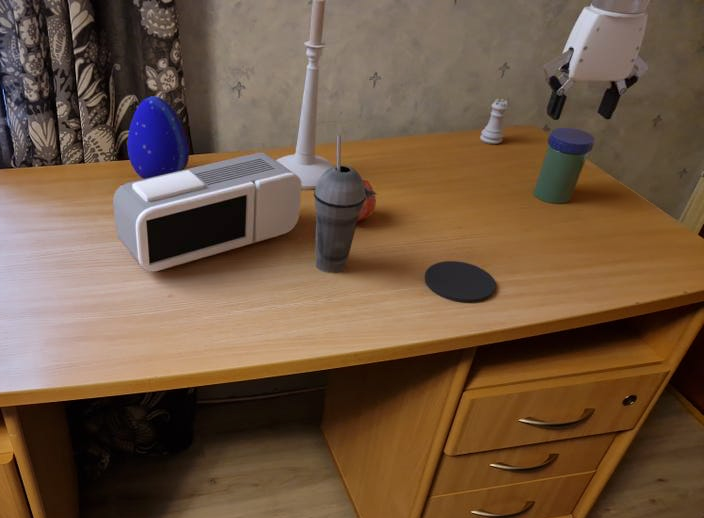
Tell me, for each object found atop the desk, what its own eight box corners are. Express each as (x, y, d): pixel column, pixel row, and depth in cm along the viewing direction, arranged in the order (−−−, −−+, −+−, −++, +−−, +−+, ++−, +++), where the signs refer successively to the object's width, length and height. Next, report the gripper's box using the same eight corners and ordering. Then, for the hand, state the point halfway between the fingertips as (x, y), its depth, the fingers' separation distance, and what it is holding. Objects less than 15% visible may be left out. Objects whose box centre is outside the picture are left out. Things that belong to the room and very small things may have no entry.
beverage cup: (342, 283, 99) (361, 152, 86) (298, 268, 102) (310, 140, 89) (362, 260, 104) (383, 133, 91) (319, 247, 107) (334, 122, 94)
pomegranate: (320, 230, 115) (355, 218, 106) (312, 187, 114) (347, 172, 105) (355, 225, 118) (392, 213, 109) (348, 183, 118) (384, 167, 109)
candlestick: (316, 154, 133) (333, -17, 113) (351, 182, 124) (376, 1, 104) (257, 165, 129) (265, -10, 109) (289, 194, 120) (303, 9, 100)
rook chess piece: (505, 140, 139) (516, 101, 134) (496, 146, 136) (507, 107, 131) (485, 134, 141) (495, 95, 136) (475, 140, 139) (485, 101, 133)
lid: (579, 136, 118) (582, 127, 117) (599, 153, 112) (603, 143, 111) (540, 137, 117) (543, 128, 116) (558, 154, 112) (562, 144, 111)
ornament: (197, 180, 124) (196, 97, 114) (162, 198, 119) (157, 113, 109) (154, 163, 129) (149, 82, 119) (119, 179, 124) (111, 96, 114)
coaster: (479, 263, 104) (480, 259, 103) (505, 301, 96) (506, 298, 96) (416, 265, 103) (416, 261, 103) (436, 304, 95) (437, 300, 95)
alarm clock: (142, 282, 99) (136, 208, 91) (117, 252, 105) (110, 181, 97) (297, 236, 109) (304, 167, 101) (267, 211, 115) (271, 144, 107)
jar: (560, 186, 124) (581, 130, 117) (577, 203, 119) (599, 146, 112) (526, 187, 123) (545, 131, 116) (542, 204, 118) (562, 147, 111)
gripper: (662, -7, 104) (616, 107, 115) (552, -7, 103) (517, 108, 114) (691, 7, 98) (640, 125, 110) (576, 7, 97) (536, 126, 108)
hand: (578, 116), depth 112 cm, fingers open, 8 cm apart
